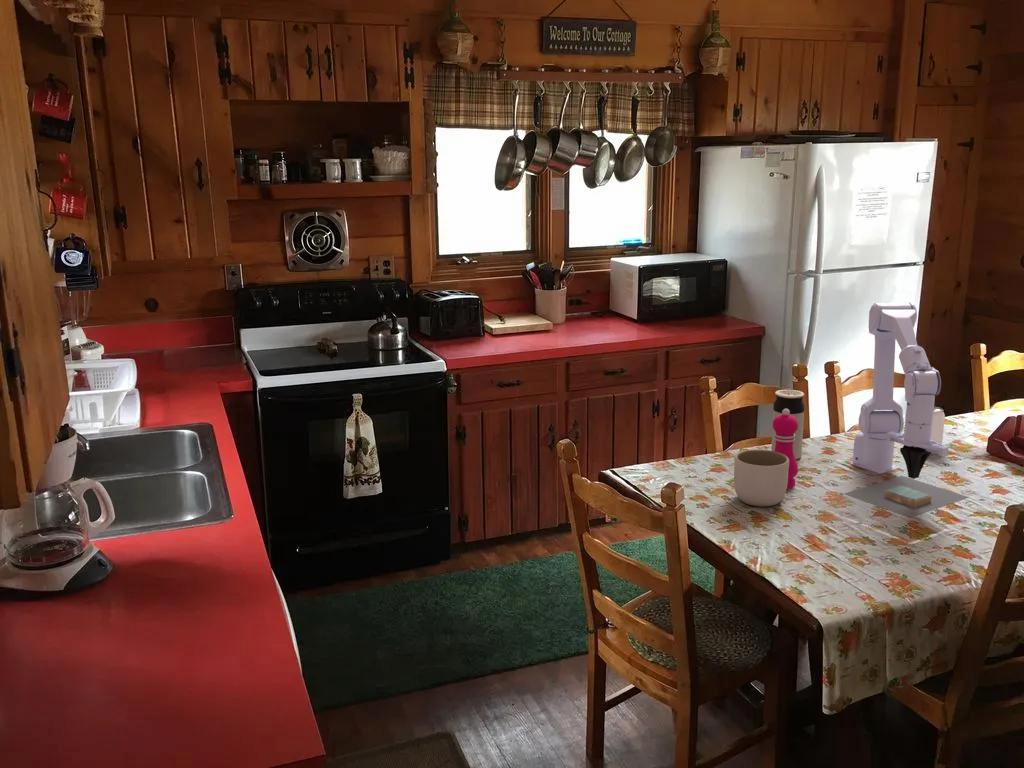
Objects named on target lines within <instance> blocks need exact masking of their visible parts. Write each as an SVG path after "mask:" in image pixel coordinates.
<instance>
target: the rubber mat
mask: <svg viewBox="0 0 1024 768" xmlns="http://www.w3.org/2000/svg"><path fill="white" fill-rule="evenodd" d="M898 486H905V487H908V488H911V489H914V490H917V491H920V492H923V493H926V494H929V495H931V502H930V503H927V504H924V505H921V506H918V507H915V508H914V507H911V506H909V505H906V504H903V503H900V502H897V501H894V500H892V499H889V498H886V497H885V491H886V490H889V489H892V488H895V487H898ZM843 494H844V495H846V496H849V497H852V498H855V499H857V500H860V501H862V502H865V503H868V504H871V505H874V506H876V507H879V508H882V509H885V510H887V511H890V512H893V513H896V514H898V515H901V516H904V517H907V518H909V519H911V518H914V517H917V516H920V515H923V514H926V513H929V512H931V511H934V510H937V509H939V508H943V507H945V506H946V507H947V506H949V505H951V504H954V503H956V502H959V501H962V500H965V499H969V498H970V497H969V496H966V495H965V494H964V495H963V494H960V493H957V492H954V491H951V490H948V489H946V488H945V489H944V488H941V487H939V486H936V485H934V484H933V485H932V484H929V483H926V482H923V481H920V480H917V479H912V478H909V477H907V476H905V475H900V476H895V477H893V478H890V479H886V480H884V481H883V480H882V481H880V482H877V483H874V484H871V485H867V486H864V487H861V488H858V489H853V490H851V491H847V492H844V493H843Z"/></svg>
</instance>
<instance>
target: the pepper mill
mask: <svg viewBox="0 0 1024 768" xmlns="http://www.w3.org/2000/svg"><path fill="white" fill-rule="evenodd" d="M782 413H783V414H781V415H778V416H777V417H776V418H775V419H774V421H773V420H772V427H773V429H774V430H775V432H776V433H774V435H775V437H774V439H775V440H776V446H775V450H774V451H775V452H779V453H781V454H784V455H786V456H787V457H788V458H789V469H788V483H787V489H791V488H794V487H795V486H796V479H795V477H796V476H797V475H798V474H799V465H798V461H797V459H795V456H794V452H793V441H795V434H794V433H795V432H796V431H797V429H798V422H797V420H796V418H795V417H793V416H792V415H789V414H790V411H789V410H788V409H784V410H783V411H782Z"/></svg>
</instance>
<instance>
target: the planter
mask: <svg viewBox="0 0 1024 768" xmlns="http://www.w3.org/2000/svg"><path fill="white" fill-rule="evenodd" d="M733 463H734V466H733V468H734V469H733V470H734V471H733V486H734V490H735V494H736V496H737V498H738V499H739V500H740V501H742V502H743V503H745V504H746V505H749V506H753V507H762V508H763V507H765V508H766V507H772V506H776V505H777V504H779V503H780V502H782V501H783V500H784V497H785V495H786V494H787V489H788V488H787V483H788V469H789V458H788V457H787V456H786V455H784V454H781V453H779V452H775V451H771V449H770V450H768V449H759V448H758V449H744V450H741V451H739V452H736V454H734V462H733Z"/></svg>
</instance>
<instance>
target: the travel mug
mask: <svg viewBox="0 0 1024 768" xmlns="http://www.w3.org/2000/svg"><path fill="white" fill-rule="evenodd" d="M774 394H775V397H776V399H775V401H774V402H773V407H772V408H773V410H772V411H773V412H772V413H773V414H772V422H773V421H774V419H775V418H776V417H777V416H778V415H781V414H783V413H782V411H783V410H784V409H788V410H789V411H790V414H789V415H792V416H793V417H795V418H796V420H797V422H798V429H797V431H796V432H795V433H794V434H795V441H793V452H794V456H795V459H796V460H799V459H801V457H802V453H803V452H802V451H803V438H804V437H803V436H804V419H805V404H804V401H803V399H804V396H805V393H804V392H803V391H800V390H796V389H779V390H778V389H777V390H776V391H775V392H774ZM771 428H772V431H771V448H770V451H774V450H775V446H776V440H775V439H774V437H775V435H774V433H776V432H775V430H774V429H773V426H772V427H771Z"/></svg>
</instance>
